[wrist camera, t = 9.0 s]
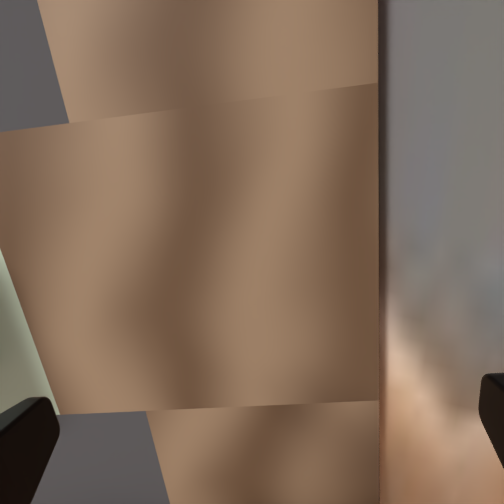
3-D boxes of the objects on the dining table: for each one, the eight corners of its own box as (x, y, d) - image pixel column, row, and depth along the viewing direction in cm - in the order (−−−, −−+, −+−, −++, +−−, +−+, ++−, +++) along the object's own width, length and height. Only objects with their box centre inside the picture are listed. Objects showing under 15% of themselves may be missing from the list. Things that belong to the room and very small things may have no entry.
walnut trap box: (372, -215, 9) (404, -329, 7) (376, 509, 18) (392, 568, 15) (-442, -42, 12) (-619, -83, 10) (-101, 516, 20) (-150, 567, 18)
